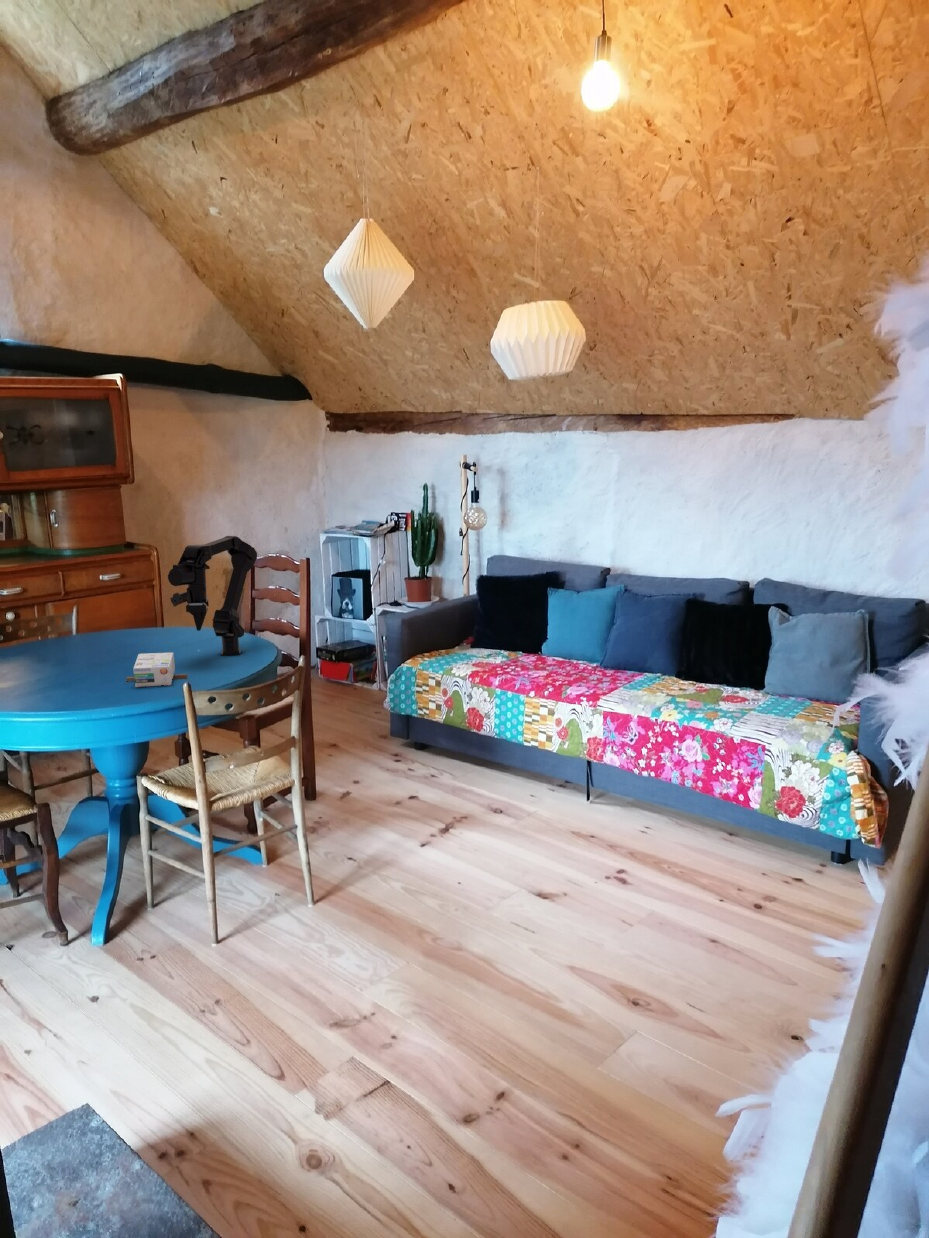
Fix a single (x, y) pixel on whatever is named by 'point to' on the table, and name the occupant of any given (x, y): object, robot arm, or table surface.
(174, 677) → the ledge strip
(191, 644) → the table surface
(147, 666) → the light bulb box
